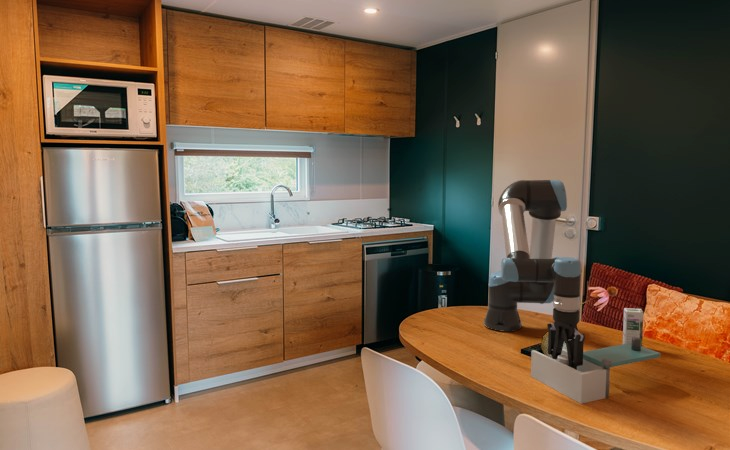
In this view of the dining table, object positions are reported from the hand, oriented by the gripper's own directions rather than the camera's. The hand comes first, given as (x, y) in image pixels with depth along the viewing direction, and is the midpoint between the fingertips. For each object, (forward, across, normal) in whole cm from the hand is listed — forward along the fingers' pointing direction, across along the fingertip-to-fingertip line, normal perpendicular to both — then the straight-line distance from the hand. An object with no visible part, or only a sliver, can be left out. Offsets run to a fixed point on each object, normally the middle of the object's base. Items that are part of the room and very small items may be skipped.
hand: (564, 382), depth 160 cm
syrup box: (+1, -15, +46) cm, 48 cm away
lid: (-8, +7, +15) cm, 18 cm away
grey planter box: (+1, +1, 0) cm, 1 cm away
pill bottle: (+1, 0, 0) cm, 1 cm away
